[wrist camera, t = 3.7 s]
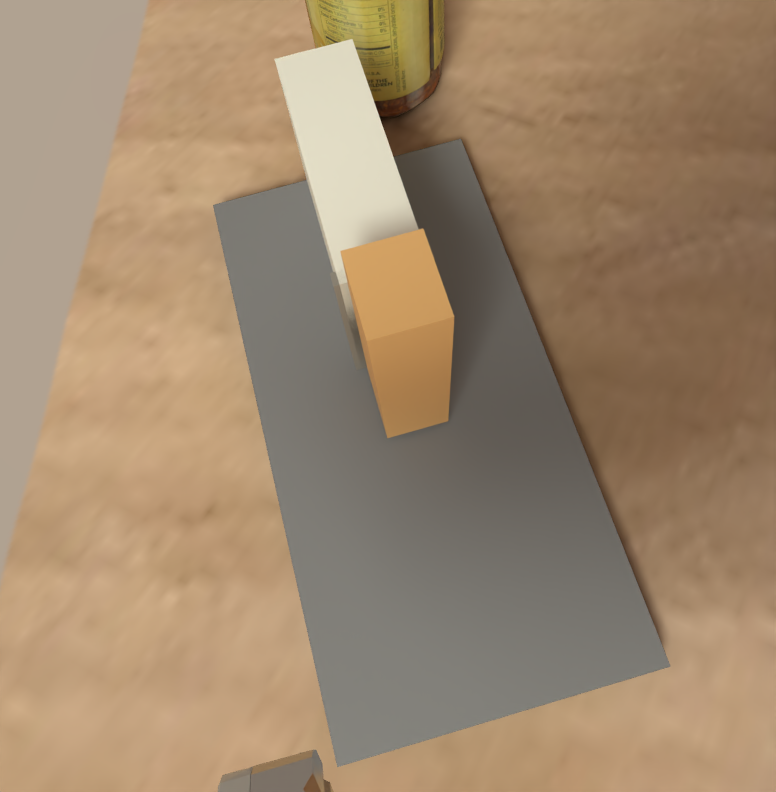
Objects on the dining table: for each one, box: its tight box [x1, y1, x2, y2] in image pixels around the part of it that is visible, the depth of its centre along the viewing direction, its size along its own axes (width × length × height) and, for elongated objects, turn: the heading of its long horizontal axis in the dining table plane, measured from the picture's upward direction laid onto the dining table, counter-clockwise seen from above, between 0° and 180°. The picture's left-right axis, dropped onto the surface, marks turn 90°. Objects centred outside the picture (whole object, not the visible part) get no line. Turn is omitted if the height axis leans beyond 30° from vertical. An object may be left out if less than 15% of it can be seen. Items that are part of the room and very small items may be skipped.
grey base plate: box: [213, 39, 670, 767], centre depth 25 cm, size 12×24×8 cm, turn 16°
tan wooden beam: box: [340, 229, 454, 438], centre depth 24 cm, size 2×3×9 cm
